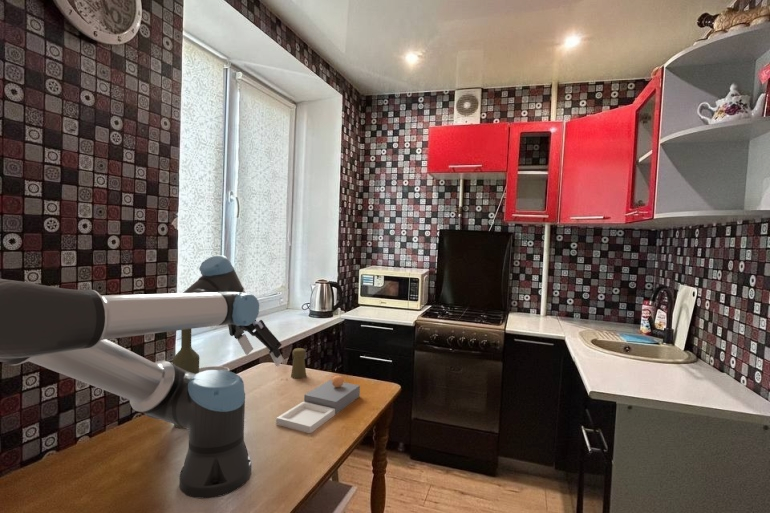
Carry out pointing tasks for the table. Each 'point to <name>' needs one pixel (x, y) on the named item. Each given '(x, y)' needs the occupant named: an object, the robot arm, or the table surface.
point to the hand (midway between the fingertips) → (264, 357)
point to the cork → (298, 363)
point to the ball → (337, 381)
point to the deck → (333, 395)
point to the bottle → (186, 356)
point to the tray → (305, 417)
